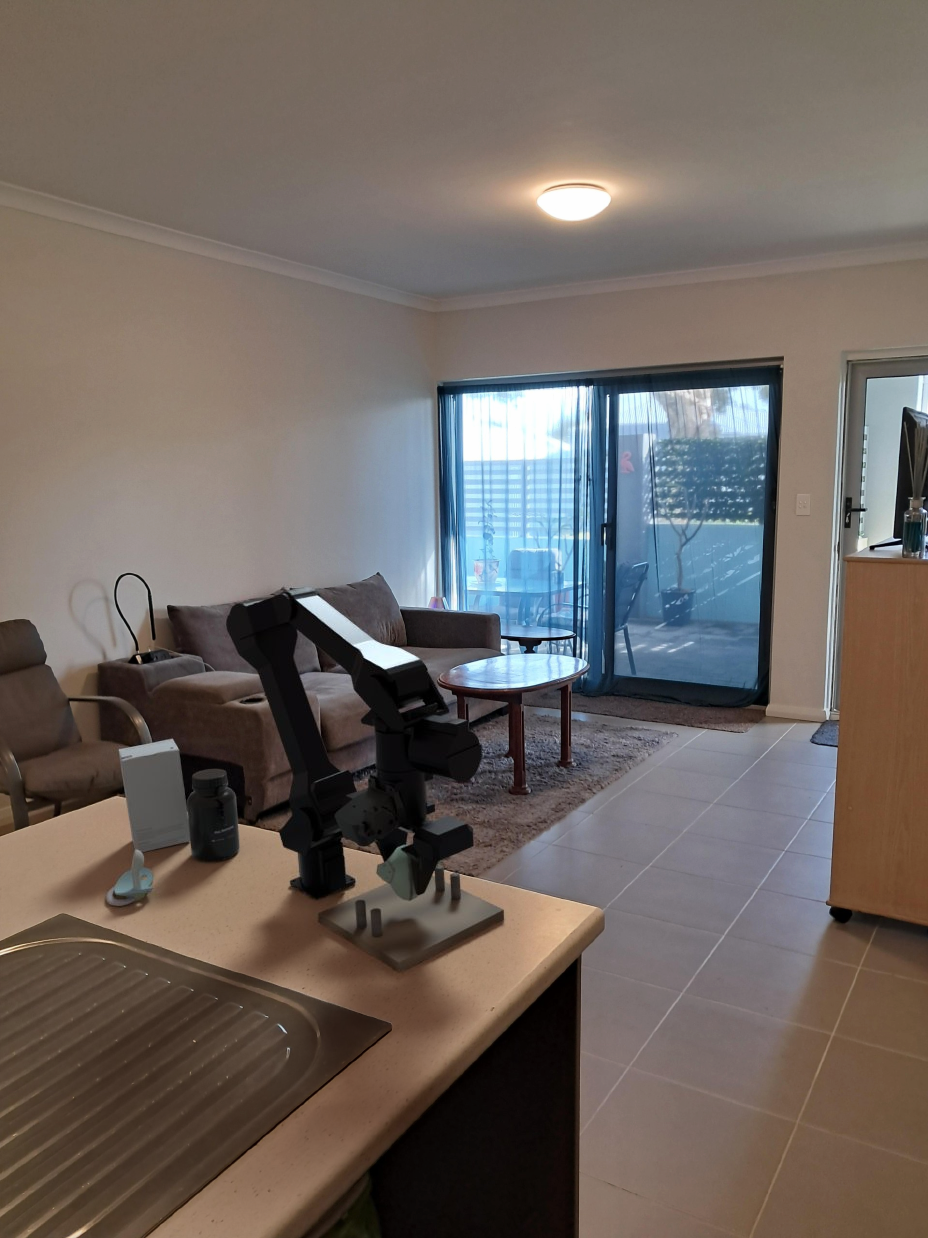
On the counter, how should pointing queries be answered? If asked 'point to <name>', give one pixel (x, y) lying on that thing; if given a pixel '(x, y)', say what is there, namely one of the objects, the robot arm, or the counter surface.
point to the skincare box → (155, 795)
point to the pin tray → (411, 920)
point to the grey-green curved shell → (399, 874)
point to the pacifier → (132, 883)
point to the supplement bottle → (212, 817)
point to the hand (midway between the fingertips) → (408, 887)
